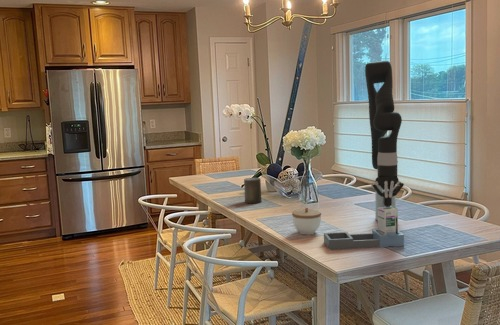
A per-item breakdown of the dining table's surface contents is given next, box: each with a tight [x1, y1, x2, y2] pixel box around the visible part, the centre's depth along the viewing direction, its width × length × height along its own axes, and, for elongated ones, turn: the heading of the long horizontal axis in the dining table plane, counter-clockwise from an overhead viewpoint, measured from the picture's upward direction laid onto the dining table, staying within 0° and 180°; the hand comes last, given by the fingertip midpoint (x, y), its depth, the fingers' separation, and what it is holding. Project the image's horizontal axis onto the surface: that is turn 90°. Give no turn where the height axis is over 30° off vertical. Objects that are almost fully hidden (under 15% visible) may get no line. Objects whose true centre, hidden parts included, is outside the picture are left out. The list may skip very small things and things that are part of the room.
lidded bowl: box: [291, 207, 322, 236], centre depth 209 cm, size 13×13×11 cm
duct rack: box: [323, 228, 405, 251], centre depth 189 cm, size 12×30×5 cm, turn 93°
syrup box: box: [377, 206, 399, 235], centre depth 189 cm, size 6×6×14 cm
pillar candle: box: [243, 177, 262, 204], centre depth 275 cm, size 10×10×15 cm
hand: (387, 206), depth 188 cm, fingers closed
